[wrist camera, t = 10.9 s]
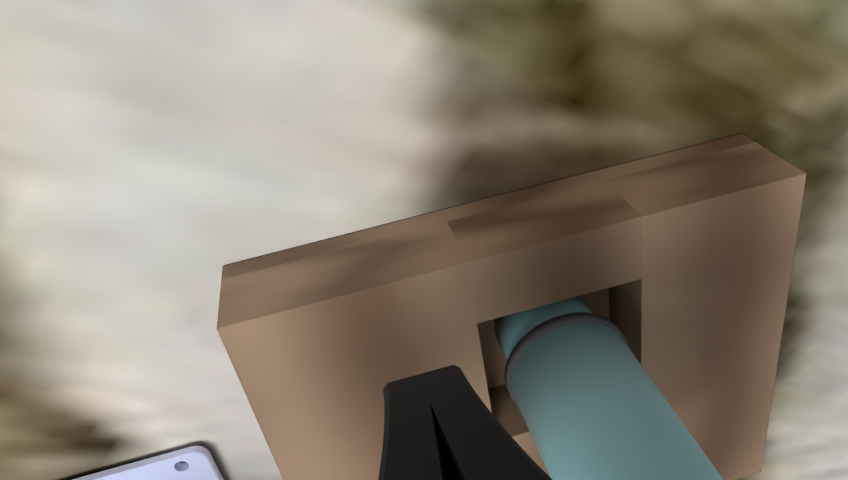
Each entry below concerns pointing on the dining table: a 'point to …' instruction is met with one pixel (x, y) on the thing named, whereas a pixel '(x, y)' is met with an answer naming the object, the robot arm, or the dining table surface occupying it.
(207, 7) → the dining table surface
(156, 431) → the dining table surface
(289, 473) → the board
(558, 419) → the peg
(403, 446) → the robot arm
